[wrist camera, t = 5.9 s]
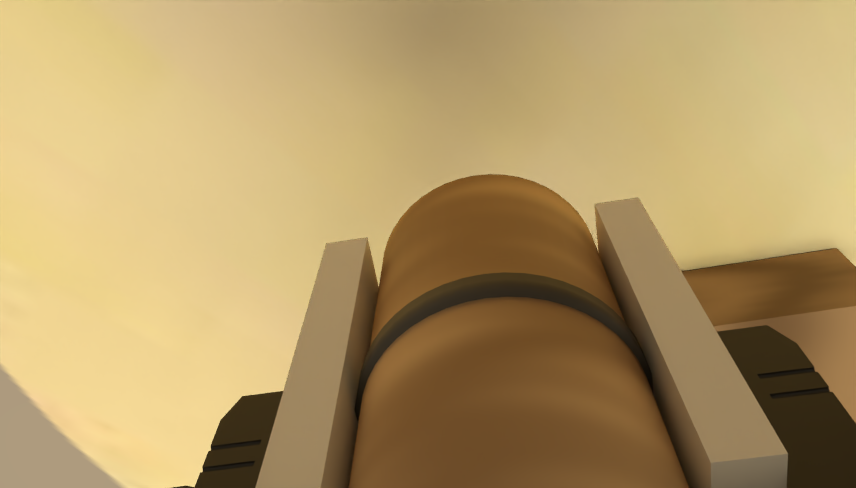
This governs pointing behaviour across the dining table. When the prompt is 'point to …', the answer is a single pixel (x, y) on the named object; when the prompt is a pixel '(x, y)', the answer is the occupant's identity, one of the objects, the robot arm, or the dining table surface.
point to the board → (791, 308)
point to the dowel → (503, 353)
